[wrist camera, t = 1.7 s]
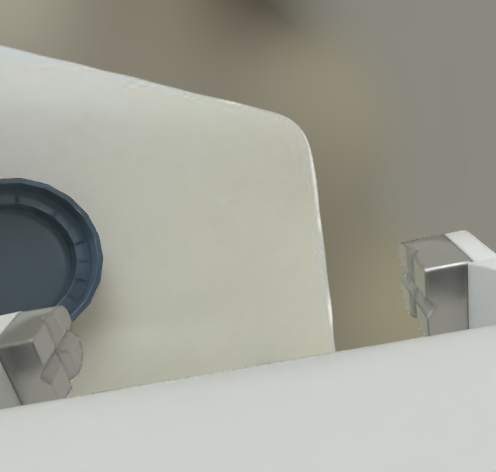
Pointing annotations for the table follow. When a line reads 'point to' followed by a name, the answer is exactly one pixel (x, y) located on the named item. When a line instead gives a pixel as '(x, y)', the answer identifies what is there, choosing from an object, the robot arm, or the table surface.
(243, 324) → the table surface
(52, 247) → the bowl
